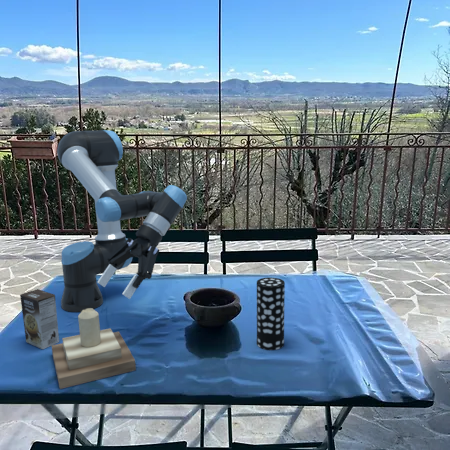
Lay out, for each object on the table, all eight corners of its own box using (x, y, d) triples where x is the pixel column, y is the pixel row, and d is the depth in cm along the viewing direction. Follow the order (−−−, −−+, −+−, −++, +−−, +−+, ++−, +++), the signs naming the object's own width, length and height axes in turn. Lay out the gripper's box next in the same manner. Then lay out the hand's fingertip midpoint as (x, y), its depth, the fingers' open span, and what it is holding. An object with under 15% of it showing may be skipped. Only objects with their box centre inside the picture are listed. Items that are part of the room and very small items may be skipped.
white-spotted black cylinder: (266, 352, 133) (266, 288, 129) (251, 341, 140) (251, 280, 136) (289, 346, 137) (290, 283, 133) (274, 335, 144) (274, 275, 140)
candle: (95, 348, 125) (92, 314, 123) (77, 346, 126) (73, 313, 124) (104, 338, 131) (101, 306, 128) (86, 337, 132) (83, 305, 129)
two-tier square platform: (52, 354, 134) (50, 336, 133) (119, 340, 143) (118, 322, 141) (59, 389, 117) (57, 368, 115) (135, 370, 125) (134, 350, 124)
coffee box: (25, 342, 142) (18, 294, 139) (43, 334, 147) (37, 288, 144) (42, 350, 137) (36, 300, 134) (60, 341, 142) (55, 293, 139)
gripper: (186, 244, 131) (146, 308, 124) (137, 230, 148) (99, 286, 142) (170, 230, 126) (128, 295, 119) (121, 217, 144) (82, 274, 137)
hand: (112, 290), depth 131 cm, fingers open, 13 cm apart
